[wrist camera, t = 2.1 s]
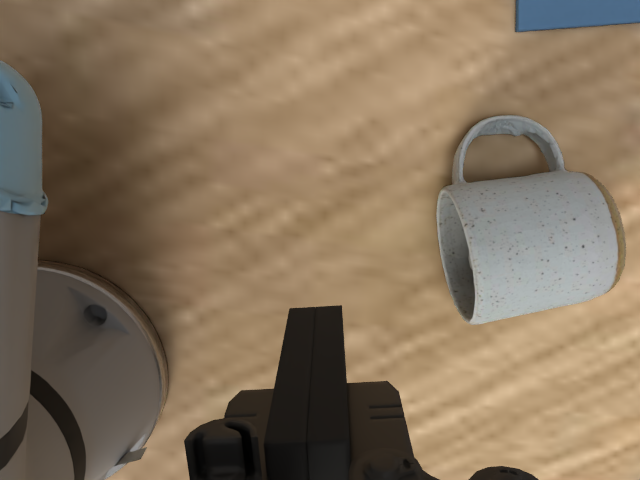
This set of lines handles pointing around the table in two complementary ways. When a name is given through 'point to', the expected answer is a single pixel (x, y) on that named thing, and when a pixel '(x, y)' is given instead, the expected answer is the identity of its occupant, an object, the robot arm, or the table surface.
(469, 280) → the ceramic mug
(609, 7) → the blue flat rectangular panel
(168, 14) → the table surface
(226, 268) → the table surface
